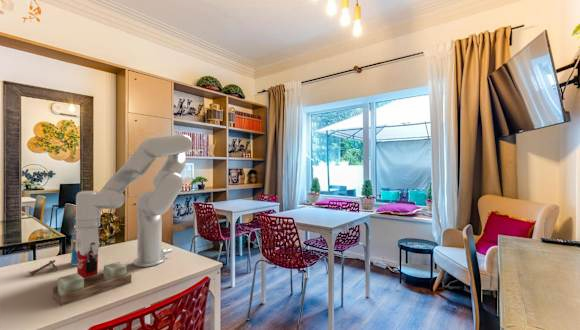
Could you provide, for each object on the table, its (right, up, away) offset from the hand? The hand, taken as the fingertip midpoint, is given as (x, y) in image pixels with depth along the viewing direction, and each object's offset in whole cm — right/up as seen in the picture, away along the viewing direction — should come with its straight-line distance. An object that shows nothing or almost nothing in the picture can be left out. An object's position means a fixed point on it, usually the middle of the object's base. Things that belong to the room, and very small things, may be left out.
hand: (87, 269), depth 101 cm
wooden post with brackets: (-20, -3, +3) cm, 21 cm away
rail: (+9, -3, -9) cm, 14 cm away
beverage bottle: (-13, -3, +14) cm, 20 cm away
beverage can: (0, -3, 0) cm, 3 cm away
